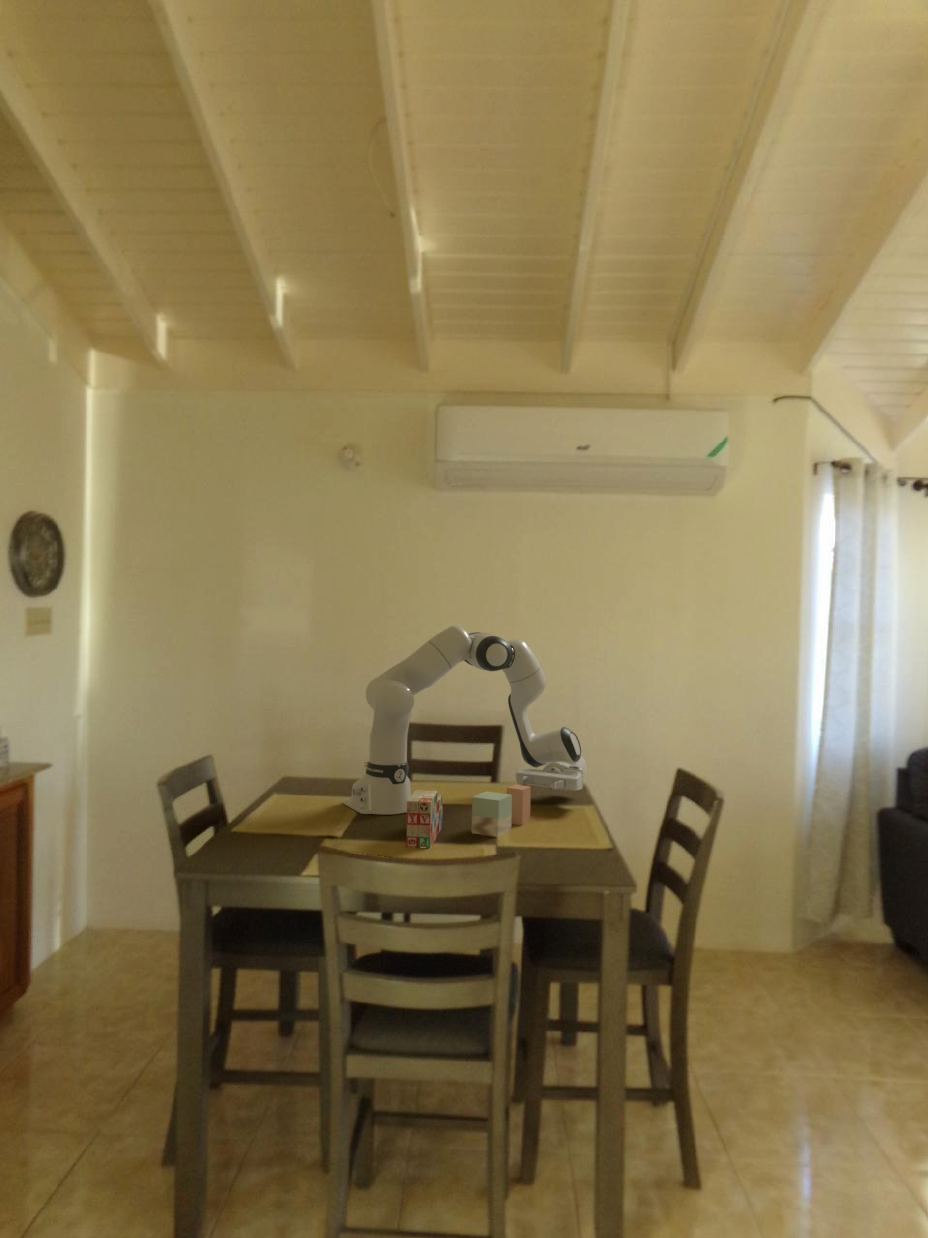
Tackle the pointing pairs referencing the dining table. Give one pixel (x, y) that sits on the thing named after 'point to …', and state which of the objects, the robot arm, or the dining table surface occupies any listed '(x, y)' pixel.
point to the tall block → (520, 804)
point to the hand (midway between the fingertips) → (537, 784)
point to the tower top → (491, 805)
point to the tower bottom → (491, 825)
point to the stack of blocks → (423, 818)
